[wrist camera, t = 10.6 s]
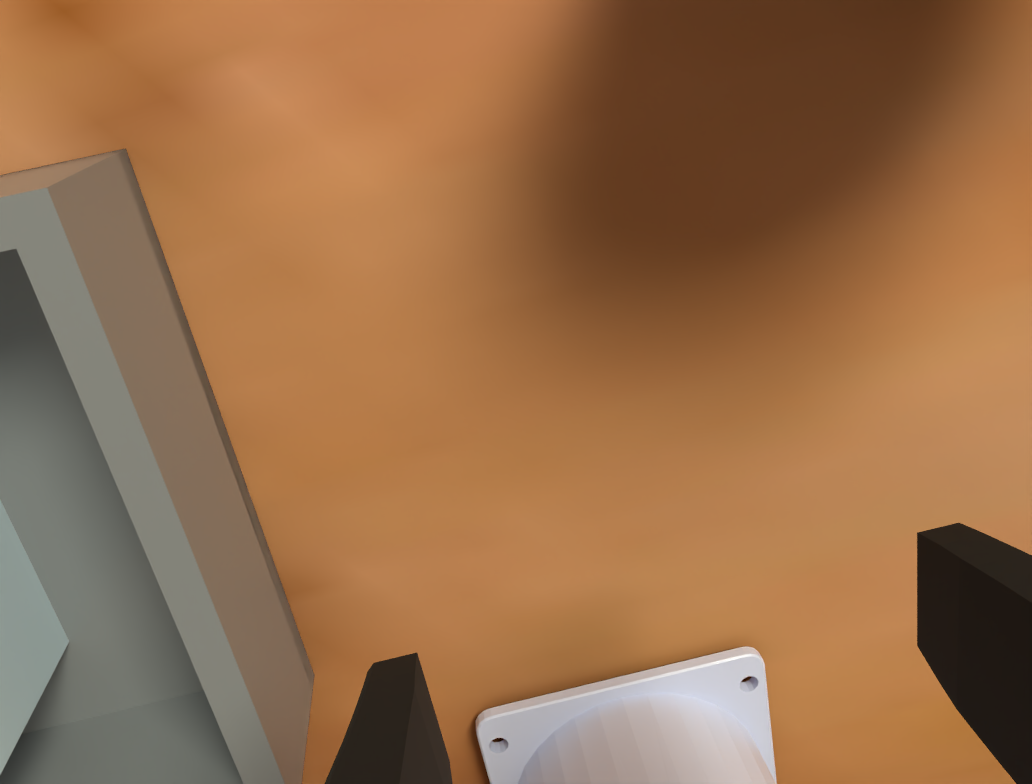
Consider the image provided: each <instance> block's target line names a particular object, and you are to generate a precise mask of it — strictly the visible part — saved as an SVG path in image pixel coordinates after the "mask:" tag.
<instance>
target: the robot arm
mask: <svg viewBox="0 0 1032 784" xmlns="http://www.w3.org/2000/svg"><path fill="white" fill-rule="evenodd" d="M917 646H918V647H919V649H920V651H921V652H922V654H923V656H924V657H925V659H926V661H927V662H928V664H929V666H930V667H931V669H932V671H933V672H934V674H935V676H936V677H937V679H938V681H939V682H940V684H941V685H942V687H943V689H944V690H945V692H946V693H947V695H948V696H949V698H950V699H951V701H952V703H953V704H954V706H955V707H956V709H957V710H958V711H959V713H960V714H961V715H962V716H963V718H964V719H965V720H966V722H967V723H968V724H969V725H970V727H971V728H972V729H973V730H974V732H975V733H976V734H977V735H978V737H979V738H980V739H981V740H982V742H983V743H984V744H985V745H986V747H987V748H988V749H989V750H990V752H991V753H992V754H993V755H994V757H995V758H996V759H997V760H998V761H999V763H1000V764H1001V765H1002V766H1003V768H1004V769H1005V770H1006V771H1007V773H1008V774H1009V775H1010V776H1011V777H1012V779H1013V780H1014V781H1015V782H1016V784H1032V555H1029V554H1027V553H1025V552H1023V551H1021V550H1019V549H1017V548H1014V547H1012V546H1010V545H1008V544H1006V543H1004V542H1002V541H999V540H997V539H995V538H993V537H991V536H988V535H986V534H984V533H982V532H980V531H977V530H975V529H973V528H970V527H968V526H965V525H963V524H960V523H956V524H952V525H948V526H943V527H939V528H935V529H931V530H927V531H923V532H918V533H917ZM748 676H752V677H751V678H750V679H749V680H748V681H745V682H741V681H742V680H743V679H744V678H746V677H748ZM476 733H477V738H478V741H479V745H480V748H481V752H482V756H483V759H484V763H485V767H486V770H487V774H488V778H489V781H490V784H777V782H776V772H775V762H774V752H773V742H772V733H771V723H770V713H769V703H768V693H767V683H766V673H765V664H764V661H763V659H762V657H761V655H760V654H759V652H758V651H757V650H756V649H754V648H751V647H740V648H736V649H731V650H727V651H723V652H719V653H715V654H711V655H707V656H703V657H698V658H694V659H690V660H686V661H682V662H678V663H674V664H670V665H666V666H661V667H657V668H653V669H649V670H645V671H641V672H637V673H633V674H629V675H624V676H620V677H616V678H612V679H608V680H604V681H600V682H596V683H592V684H587V685H583V686H579V687H575V688H571V689H567V690H563V691H559V692H555V693H550V694H546V695H542V696H538V697H534V698H530V699H526V700H522V701H518V702H513V703H509V704H505V705H501V706H497V707H493V708H489V709H487V710H484V711H483V712H482V713H481V714H479V715H478V717H477V719H476ZM496 738H504V740H502V741H500V742H492V740H494V739H496ZM325 784H452V777H451V769H450V762H449V758H448V754H447V751H446V748H445V744H444V741H443V738H442V734H441V731H440V728H439V724H438V721H437V718H436V714H435V711H434V708H433V704H432V701H431V698H430V694H429V691H428V688H427V684H426V681H425V678H424V674H423V671H422V668H421V664H420V661H419V658H418V654H417V653H413V654H409V655H405V656H401V657H397V658H393V659H388V660H384V661H380V662H376V663H373V665H372V666H371V668H370V669H369V670H368V672H367V676H366V679H365V682H364V685H363V688H362V691H361V694H360V697H359V700H358V703H357V706H356V708H355V711H354V714H353V716H352V719H351V722H350V724H349V727H348V729H347V732H346V735H345V737H344V740H343V742H342V745H341V747H340V749H339V752H338V754H337V756H336V759H335V761H334V763H333V766H332V768H331V770H330V773H329V775H328V777H327V780H326V782H325Z"/></svg>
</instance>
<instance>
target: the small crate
mask: <svg viewBox="0 0 1032 784" xmlns="http://www.w3.org/2000/svg"><path fill="white" fill-rule="evenodd" d="M68 643H69V640H68V638H67V636H66V634H65V632H64V630H63V627H62V625H61V623H60V621H59V619H58V617H57V615H56V613H55V611H54V609H53V607H52V605H51V603H50V601H49V599H48V597H47V595H46V592H45V590H44V588H43V586H42V584H41V582H40V580H39V578H38V576H37V574H36V572H35V570H34V568H33V566H32V564H31V562H30V560H29V558H28V555H27V553H26V551H25V549H24V547H23V545H22V543H21V541H20V539H19V537H18V535H17V533H16V531H15V529H14V527H13V525H12V523H11V521H10V518H9V516H8V514H7V512H6V510H5V508H4V506H3V504H2V502H1V500H0V775H1V773H2V771H3V769H4V767H5V765H6V763H7V761H8V759H9V757H10V755H11V753H12V751H13V749H14V747H15V746H16V744H17V742H18V740H19V738H20V736H21V734H22V732H23V730H24V728H25V726H26V724H27V722H28V720H29V718H30V716H31V715H32V713H33V711H34V709H35V707H36V705H37V703H38V701H39V699H40V697H41V695H42V693H43V691H44V689H45V687H46V686H47V684H48V682H49V680H50V678H51V676H52V674H53V672H54V670H55V668H56V666H57V664H58V662H59V660H60V658H61V656H62V655H63V653H64V651H65V649H66V647H67V645H68Z"/></svg>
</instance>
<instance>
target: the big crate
mask: <svg viewBox="0 0 1032 784" xmlns="http://www.w3.org/2000/svg"><path fill="white" fill-rule="evenodd" d="M0 500H1V502H2V504H3V506H4V508H5V510H6V512H7V514H8V516H9V518H10V521H11V523H12V525H13V527H14V529H15V531H16V533H17V535H18V537H19V539H20V541H21V543H22V545H23V547H24V549H25V551H26V553H27V555H28V558H29V560H30V562H31V564H32V566H33V568H34V570H35V572H36V574H37V576H38V578H39V580H40V582H41V584H42V586H43V588H44V590H45V592H46V595H47V597H48V599H49V601H50V603H51V605H52V607H53V609H54V611H55V613H56V615H57V617H58V619H59V621H60V623H61V625H62V627H63V630H64V632H65V634H66V636H67V638H68V640H69V643H68V645H67V647H66V649H65V651H64V653H63V655H62V656H61V658H60V660H59V662H58V664H57V666H56V668H55V670H54V672H53V674H52V676H51V678H50V680H49V682H48V684H47V686H46V687H45V689H44V691H43V693H42V695H41V697H40V699H39V701H38V703H37V705H36V707H35V709H34V711H33V713H32V715H31V716H30V718H29V720H28V722H27V724H26V726H25V728H24V730H23V732H22V734H21V736H20V738H19V740H18V742H17V744H16V746H15V747H14V749H13V751H12V753H11V755H10V757H9V759H8V761H7V763H6V765H5V767H4V769H3V771H2V773H1V775H0V784H302V776H303V768H304V759H305V751H306V742H307V734H308V725H309V717H310V708H311V700H312V691H313V683H314V673H313V670H312V668H311V665H310V662H309V659H308V656H307V654H306V651H305V648H304V645H303V642H302V640H301V637H300V634H299V631H298V628H297V626H296V623H295V620H294V617H293V614H292V612H291V609H290V606H289V603H288V601H287V598H286V595H285V592H284V589H283V587H282V584H281V581H280V578H279V575H278V573H277V570H276V567H275V564H274V561H273V559H272V556H271V553H270V550H269V547H268V545H267V542H266V539H265V536H264V533H263V531H262V528H261V525H260V522H259V520H258V517H257V514H256V511H255V508H254V506H253V503H252V500H251V497H250V494H249V492H248V489H247V486H246V483H245V480H244V478H243V475H242V472H241V469H240V466H239V464H238V461H237V458H236V455H235V452H234V450H233V447H232V444H231V441H230V439H229V436H228V433H227V430H226V427H225V425H224V422H223V419H222V416H221V413H220V411H219V408H218V405H217V402H216V399H215V397H214V394H213V391H212V388H211V385H210V383H209V380H208V377H207V374H206V371H205V369H204V366H203V363H202V360H201V358H200V355H199V352H198V349H197V346H196V344H195V341H194V338H193V335H192V332H191V330H190V327H189V324H188V321H187V318H186V316H185V313H184V310H183V307H182V304H181V302H180V299H179V296H178V293H177V290H176V288H175V285H174V282H173V279H172V277H171V274H170V271H169V268H168V265H167V263H166V260H165V257H164V254H163V251H162V249H161V246H160V243H159V240H158V237H157V235H156V232H155V229H154V226H153V223H152V221H151V218H150V215H149V212H148V209H147V207H146V204H145V201H144V198H143V196H142V193H141V190H140V187H139V184H138V182H137V179H136V176H135V173H134V170H133V168H132V165H131V162H130V159H129V156H128V154H127V151H126V149H122V150H117V151H112V152H108V153H103V154H98V155H93V156H89V157H84V158H79V159H75V160H70V161H65V162H61V163H56V164H51V165H46V166H42V167H37V168H32V169H28V170H23V171H18V172H14V173H9V174H4V175H0Z"/></svg>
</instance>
